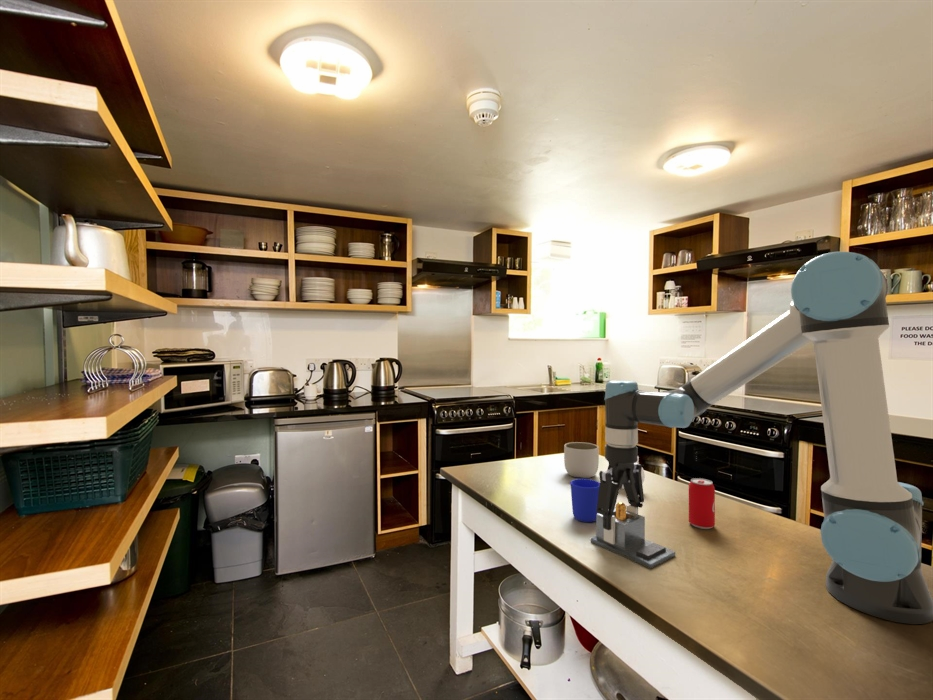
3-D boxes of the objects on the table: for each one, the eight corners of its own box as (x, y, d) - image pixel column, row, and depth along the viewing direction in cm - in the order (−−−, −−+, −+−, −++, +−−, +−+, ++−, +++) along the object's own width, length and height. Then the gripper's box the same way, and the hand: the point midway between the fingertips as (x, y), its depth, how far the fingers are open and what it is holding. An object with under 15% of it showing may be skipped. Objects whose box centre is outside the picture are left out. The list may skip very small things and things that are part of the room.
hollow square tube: (644, 541, 108) (644, 516, 108) (624, 550, 103) (624, 524, 103) (616, 530, 114) (616, 507, 114) (596, 538, 110) (596, 514, 110)
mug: (617, 526, 119) (617, 489, 119) (570, 523, 121) (570, 486, 121) (613, 515, 127) (613, 480, 127) (570, 512, 129) (570, 477, 129)
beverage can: (717, 525, 120) (717, 480, 119) (711, 532, 115) (711, 486, 115) (692, 519, 124) (692, 476, 124) (685, 525, 119) (685, 481, 119)
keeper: (675, 555, 103) (675, 511, 102) (650, 568, 97) (650, 522, 97) (615, 532, 116) (616, 492, 115) (590, 542, 110) (590, 501, 110)
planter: (557, 475, 165) (557, 445, 165) (576, 468, 174) (576, 440, 174) (586, 482, 156) (586, 451, 156) (605, 475, 165) (605, 445, 165)
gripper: (633, 436, 117) (633, 521, 118) (580, 447, 105) (580, 542, 105) (659, 441, 111) (659, 531, 112) (606, 453, 99) (606, 555, 99)
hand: (621, 536), depth 109 cm, fingers open, 8 cm apart
